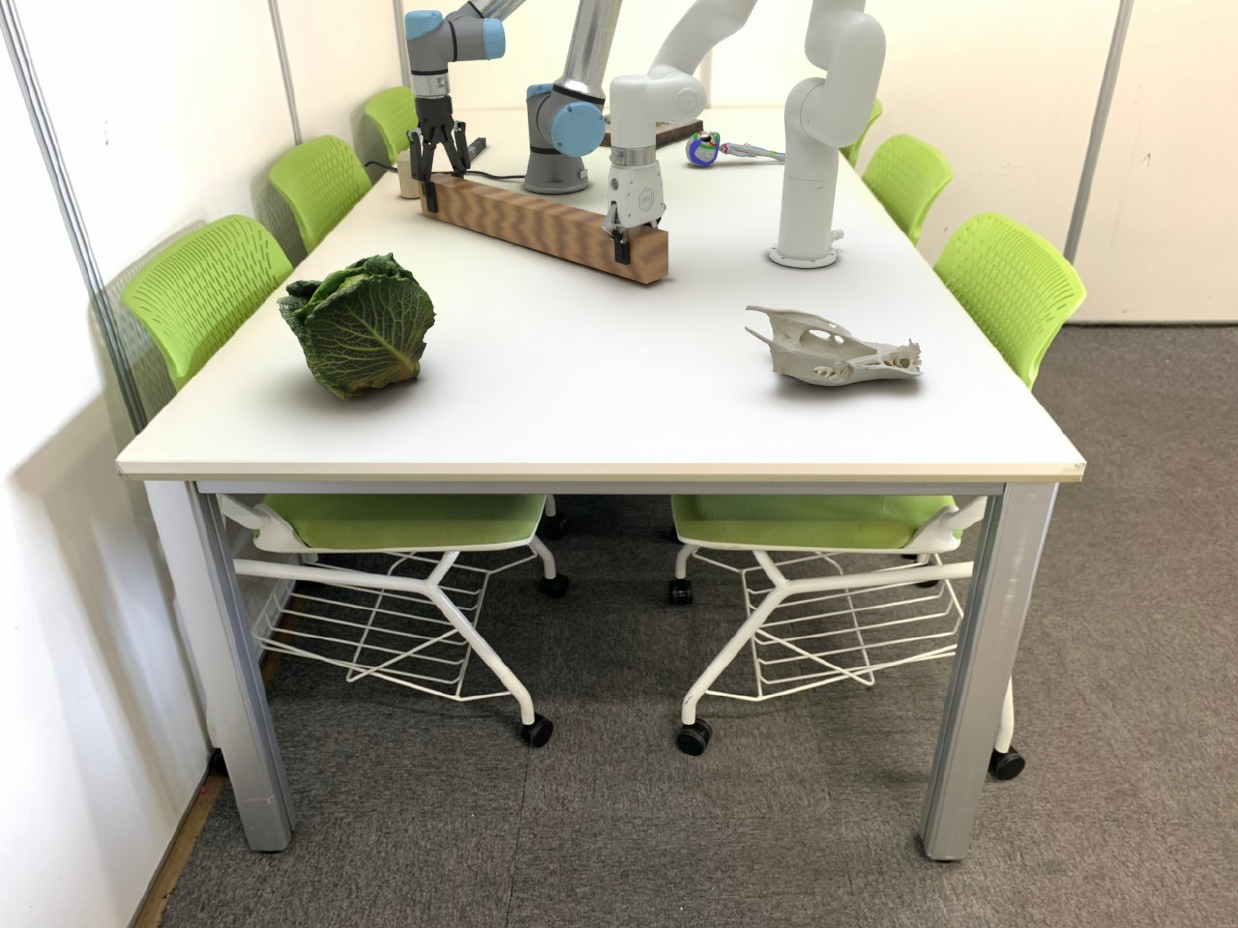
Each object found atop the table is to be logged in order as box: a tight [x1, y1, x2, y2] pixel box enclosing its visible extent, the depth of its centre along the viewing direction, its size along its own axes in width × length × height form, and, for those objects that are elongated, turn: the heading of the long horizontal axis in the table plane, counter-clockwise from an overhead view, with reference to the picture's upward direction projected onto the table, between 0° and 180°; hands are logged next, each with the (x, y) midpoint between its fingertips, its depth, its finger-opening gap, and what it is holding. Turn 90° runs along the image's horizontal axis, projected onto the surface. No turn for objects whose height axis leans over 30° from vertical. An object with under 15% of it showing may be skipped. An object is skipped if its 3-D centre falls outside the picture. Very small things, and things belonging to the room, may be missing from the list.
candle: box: [395, 149, 420, 199], centre depth 207 cm, size 6×6×10 cm
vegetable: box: [276, 251, 438, 401], centre depth 124 cm, size 20×19×20 cm
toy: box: [684, 130, 785, 167], centre depth 229 cm, size 10×8×30 cm
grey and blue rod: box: [467, 136, 487, 162], centre depth 242 cm, size 2×2×20 cm
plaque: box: [599, 113, 705, 150], centre depth 257 cm, size 30×7×30 cm
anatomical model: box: [744, 304, 924, 387], centre depth 126 cm, size 15×9×25 cm
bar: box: [418, 173, 669, 285], centre depth 177 cm, size 67×6×8 cm, turn 46°
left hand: (446, 207), depth 195 cm, fingers open, 6 cm apart
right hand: (635, 257), depth 161 cm, fingers closed on bar, 6 cm apart
